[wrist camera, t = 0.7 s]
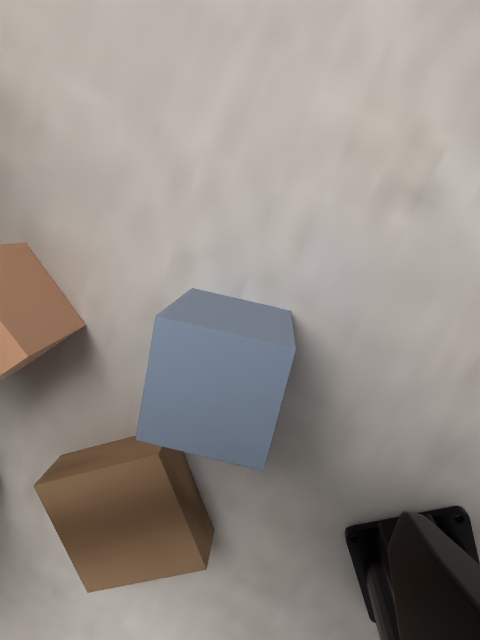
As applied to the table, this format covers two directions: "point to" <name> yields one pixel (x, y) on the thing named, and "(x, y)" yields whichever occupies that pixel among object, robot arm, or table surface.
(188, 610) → the table surface
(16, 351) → the terracotta block
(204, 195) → the table surface
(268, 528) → the table surface
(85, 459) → the walnut slab
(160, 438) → the slate block
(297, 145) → the table surface
